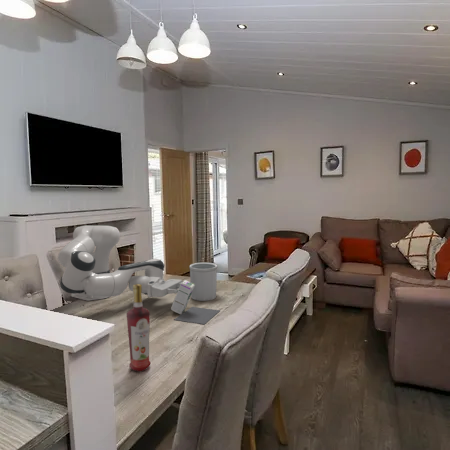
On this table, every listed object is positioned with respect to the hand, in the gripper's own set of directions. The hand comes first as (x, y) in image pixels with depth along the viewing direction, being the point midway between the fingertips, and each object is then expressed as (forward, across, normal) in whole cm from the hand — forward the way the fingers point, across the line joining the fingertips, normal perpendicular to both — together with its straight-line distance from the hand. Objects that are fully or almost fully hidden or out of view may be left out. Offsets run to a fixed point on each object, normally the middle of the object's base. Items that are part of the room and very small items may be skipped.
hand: (182, 288), depth 170 cm
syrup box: (-1, +4, -10) cm, 10 cm away
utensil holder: (+1, -22, -10) cm, 24 cm away
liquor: (+13, +54, -12) cm, 57 cm away
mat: (+10, +4, -10) cm, 15 cm away
